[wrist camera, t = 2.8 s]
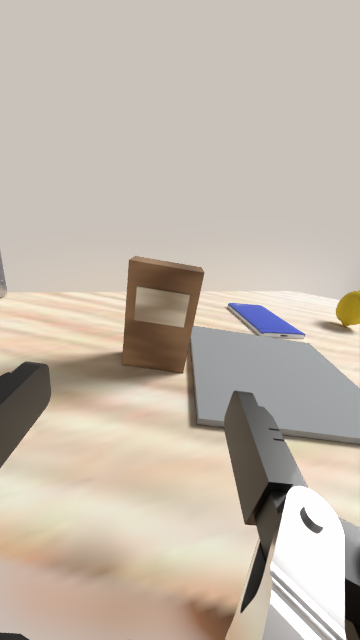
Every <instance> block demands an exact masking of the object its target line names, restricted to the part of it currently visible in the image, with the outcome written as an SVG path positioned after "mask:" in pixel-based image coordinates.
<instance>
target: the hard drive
mask: <svg viewBox="0 0 360 640" xmlns="http://www.w3.org/2000/svg"><path fill="white" fill-rule="evenodd" d="M227 307H228V308H229V309H230V310H231V311H232V312H233V313H235V314H236V315H237V316H238V317H239V318H240V319H241V320H243V321H244V322H245V323H246V324H247V325H248V326H249V327H250V328H252V329H253V330H254V331H255V332H256V333H257V334H258V335H260V336H264V337H274V338H297V339H304V337H305V334H304V333H302V332H301V331H299V330H297V329H296V328H294V327H293V326H291V325H290V324H288V323H287V322H285V321H284V320H282V319H281V318H279V317H278V316H276V315H275V314H273V313H272V312H270V311H269V310H267V309H266V308H264V307H263V306H260V305H249V304H237V303H229V304H228V306H227Z"/></svg>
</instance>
